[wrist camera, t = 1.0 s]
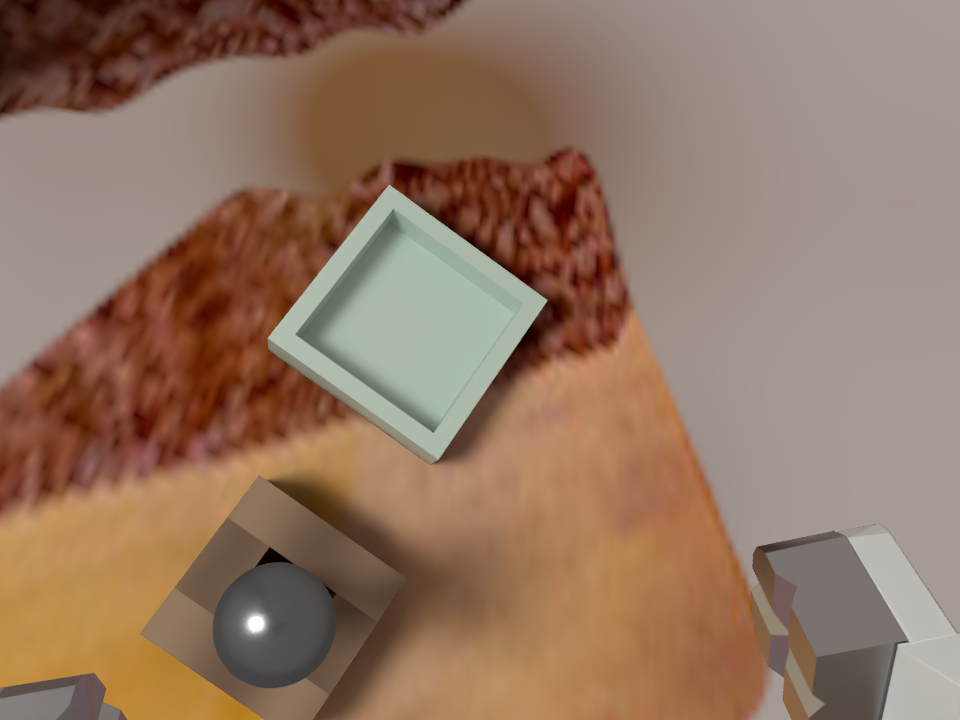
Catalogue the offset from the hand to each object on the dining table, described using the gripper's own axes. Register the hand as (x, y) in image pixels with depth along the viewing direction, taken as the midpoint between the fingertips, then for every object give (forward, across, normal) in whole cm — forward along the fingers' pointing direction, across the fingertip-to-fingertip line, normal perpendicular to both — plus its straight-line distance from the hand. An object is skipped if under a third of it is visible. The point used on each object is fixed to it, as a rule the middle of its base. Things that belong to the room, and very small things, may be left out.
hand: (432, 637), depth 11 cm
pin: (+25, +12, +27) cm, 38 cm away
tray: (+36, +3, +19) cm, 41 cm away
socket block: (+25, +12, +27) cm, 38 cm away
